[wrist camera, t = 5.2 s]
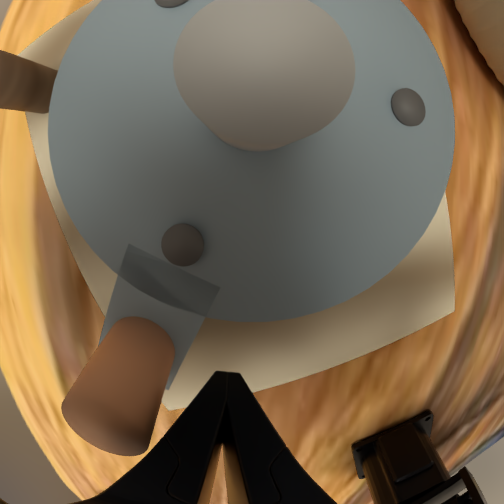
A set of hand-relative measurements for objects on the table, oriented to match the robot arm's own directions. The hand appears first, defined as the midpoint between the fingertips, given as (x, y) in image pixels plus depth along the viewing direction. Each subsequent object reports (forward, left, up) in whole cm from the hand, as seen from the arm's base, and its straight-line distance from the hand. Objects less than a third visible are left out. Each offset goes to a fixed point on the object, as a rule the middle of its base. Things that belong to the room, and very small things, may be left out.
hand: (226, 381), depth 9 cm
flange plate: (+6, -2, -2) cm, 7 cm away
